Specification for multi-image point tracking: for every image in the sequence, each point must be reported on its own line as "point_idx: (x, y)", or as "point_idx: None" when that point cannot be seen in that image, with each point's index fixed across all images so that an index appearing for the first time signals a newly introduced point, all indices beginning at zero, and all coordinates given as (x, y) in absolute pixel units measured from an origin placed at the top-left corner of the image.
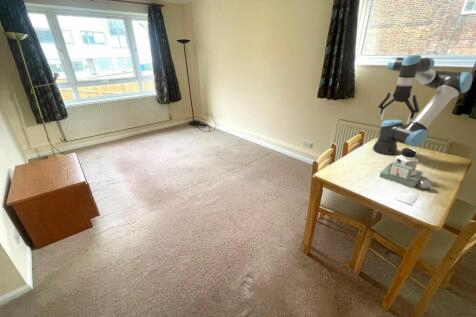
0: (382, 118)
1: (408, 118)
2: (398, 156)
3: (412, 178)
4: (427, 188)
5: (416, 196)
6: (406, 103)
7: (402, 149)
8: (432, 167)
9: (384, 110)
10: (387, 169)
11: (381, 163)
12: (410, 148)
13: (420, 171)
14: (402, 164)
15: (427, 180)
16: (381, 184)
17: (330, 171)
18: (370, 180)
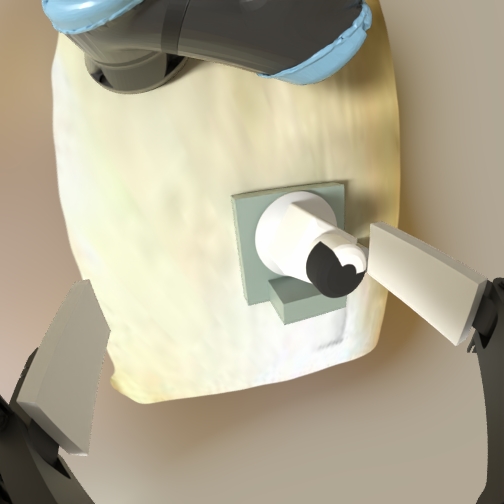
0: (103, 334)
1: (412, 303)
2: (295, 274)
3: None
4: None
5: None
6: (495, 479)
7: (316, 282)
8: (337, 80)
9: (81, 432)
10: (254, 267)
11: (194, 188)
12: (345, 257)
13: (337, 188)
14: (316, 296)
15: (365, 249)
16: (268, 326)
17: (136, 374)
18: (237, 333)
